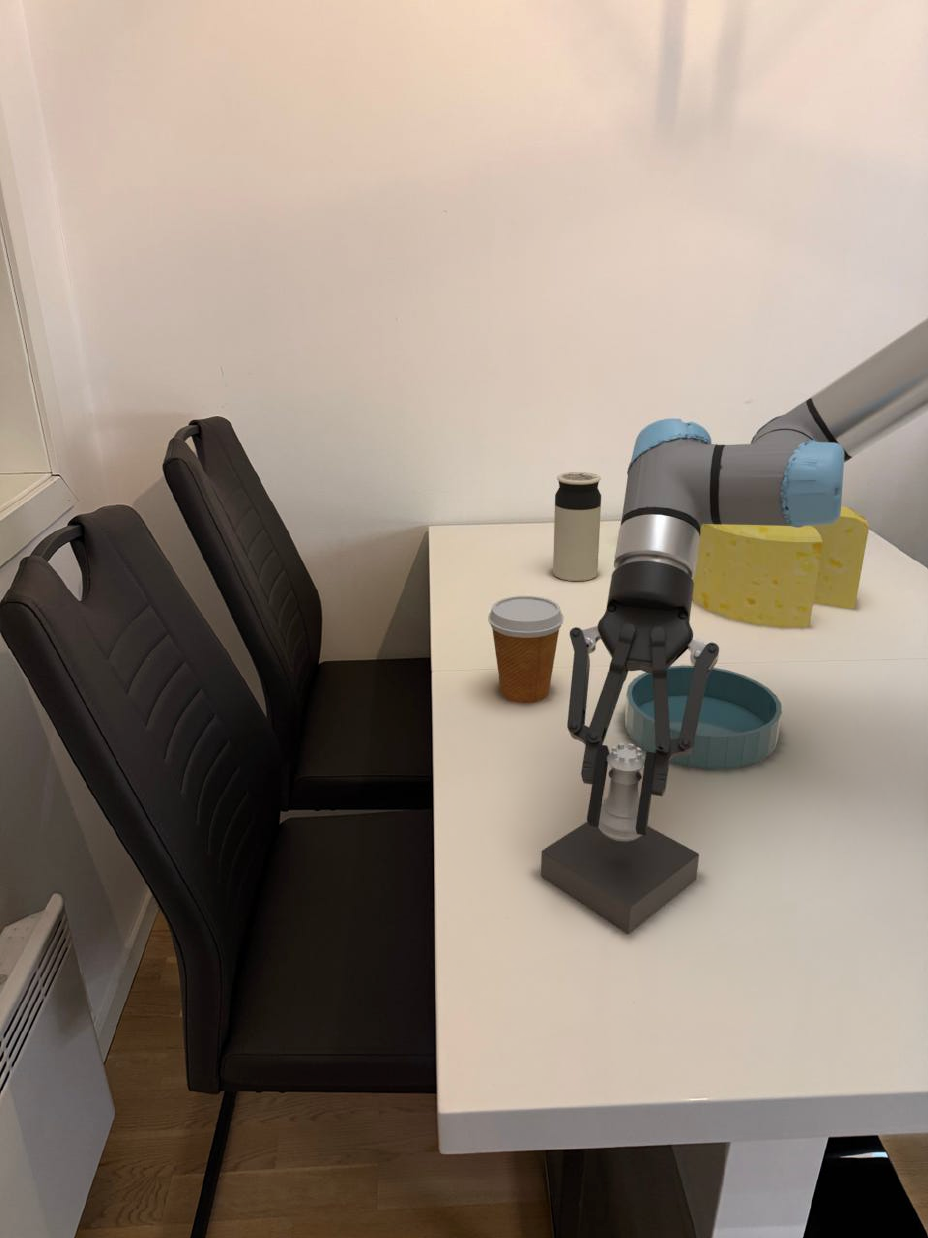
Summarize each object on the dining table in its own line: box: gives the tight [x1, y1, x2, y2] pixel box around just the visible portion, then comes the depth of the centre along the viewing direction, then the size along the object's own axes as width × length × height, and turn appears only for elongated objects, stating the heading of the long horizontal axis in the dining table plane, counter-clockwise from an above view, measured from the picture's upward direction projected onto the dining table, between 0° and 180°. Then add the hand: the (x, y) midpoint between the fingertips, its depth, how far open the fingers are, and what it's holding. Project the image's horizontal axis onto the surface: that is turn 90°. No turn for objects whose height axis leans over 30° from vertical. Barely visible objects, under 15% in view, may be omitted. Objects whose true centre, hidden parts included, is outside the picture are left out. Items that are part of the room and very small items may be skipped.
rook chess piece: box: [598, 742, 645, 842], centre depth 73 cm, size 4×4×8 cm
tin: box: [624, 664, 783, 770], centre depth 100 cm, size 18×18×4 cm
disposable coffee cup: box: [487, 595, 565, 704], centre depth 108 cm, size 10×10×12 cm
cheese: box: [692, 504, 870, 628], centre depth 137 cm, size 26×26×15 cm
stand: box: [540, 821, 700, 935], centre depth 76 cm, size 10×10×3 cm
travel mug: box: [552, 471, 602, 582], centre depth 148 cm, size 8×8×18 cm
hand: (616, 827), depth 70 cm, fingers closed on rook chess piece, 3 cm apart
